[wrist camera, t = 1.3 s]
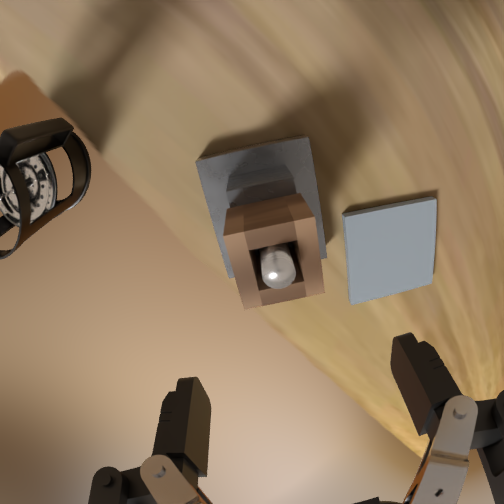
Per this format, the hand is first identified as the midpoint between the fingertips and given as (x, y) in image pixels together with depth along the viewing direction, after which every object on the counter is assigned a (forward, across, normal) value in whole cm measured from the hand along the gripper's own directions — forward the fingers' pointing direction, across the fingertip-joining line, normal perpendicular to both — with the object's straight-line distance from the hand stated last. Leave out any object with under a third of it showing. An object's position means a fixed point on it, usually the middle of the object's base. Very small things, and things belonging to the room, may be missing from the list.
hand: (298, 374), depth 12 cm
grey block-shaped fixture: (+21, 0, 0) cm, 21 cm away
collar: (+14, 0, 0) cm, 14 cm away
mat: (+21, -13, +8) cm, 26 cm away
